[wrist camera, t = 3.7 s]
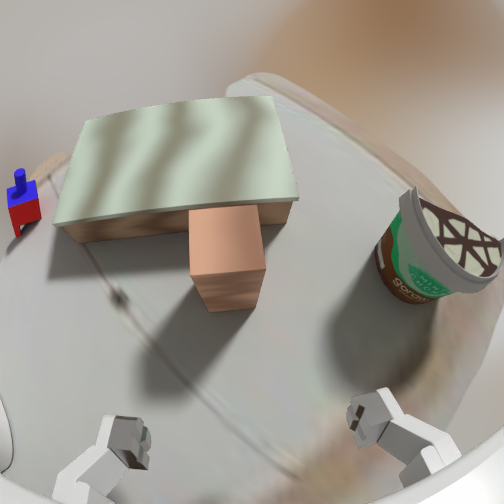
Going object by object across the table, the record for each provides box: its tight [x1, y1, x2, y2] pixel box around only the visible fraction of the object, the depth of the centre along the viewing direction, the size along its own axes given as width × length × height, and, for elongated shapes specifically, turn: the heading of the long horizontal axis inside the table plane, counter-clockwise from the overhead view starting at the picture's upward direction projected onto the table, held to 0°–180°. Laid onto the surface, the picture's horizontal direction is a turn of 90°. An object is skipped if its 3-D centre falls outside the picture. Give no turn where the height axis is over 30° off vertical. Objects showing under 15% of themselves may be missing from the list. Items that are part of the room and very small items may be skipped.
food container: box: [375, 186, 504, 304], centre depth 21 cm, size 12×6×10 cm, turn 70°
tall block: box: [189, 205, 266, 312], centre depth 20 cm, size 4×4×10 cm
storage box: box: [52, 96, 299, 243], centre depth 27 cm, size 23×15×5 cm, turn 97°
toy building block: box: [7, 168, 42, 237], centre depth 24 cm, size 4×4×8 cm
